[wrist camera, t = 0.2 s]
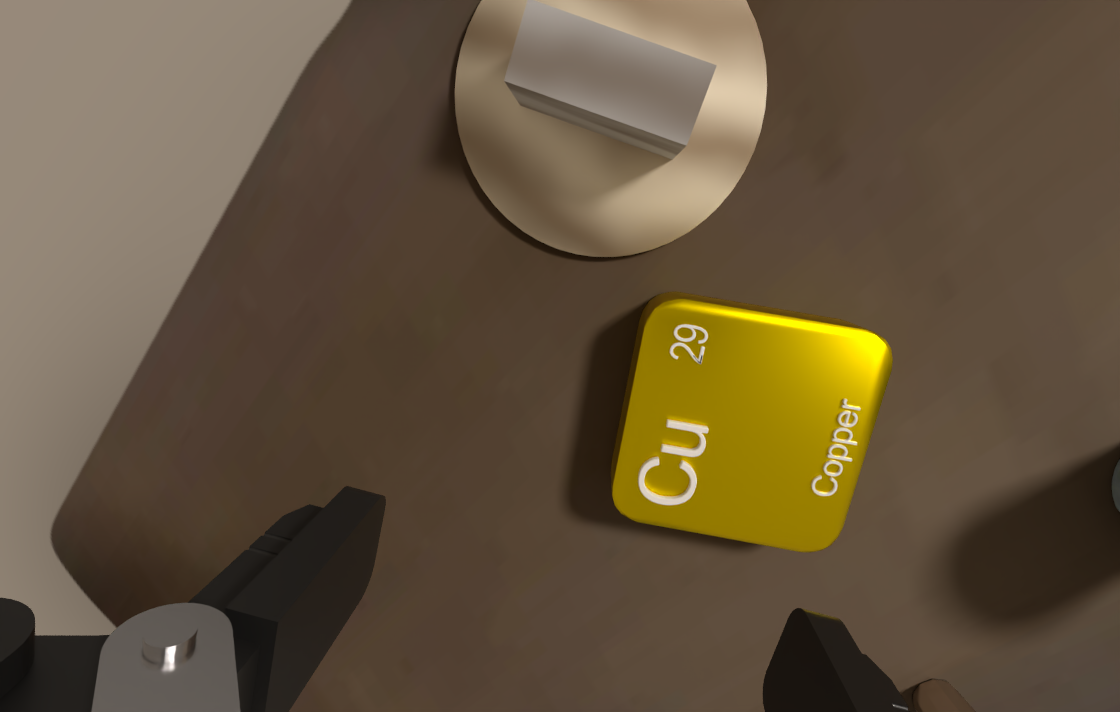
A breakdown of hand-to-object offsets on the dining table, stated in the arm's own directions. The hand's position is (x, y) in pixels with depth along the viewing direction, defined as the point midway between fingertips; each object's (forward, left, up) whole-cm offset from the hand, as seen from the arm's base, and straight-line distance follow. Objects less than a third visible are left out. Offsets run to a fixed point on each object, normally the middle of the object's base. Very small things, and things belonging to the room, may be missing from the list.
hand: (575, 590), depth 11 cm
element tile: (+2, +11, -29) cm, 31 cm away
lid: (-14, -4, -29) cm, 32 cm away
